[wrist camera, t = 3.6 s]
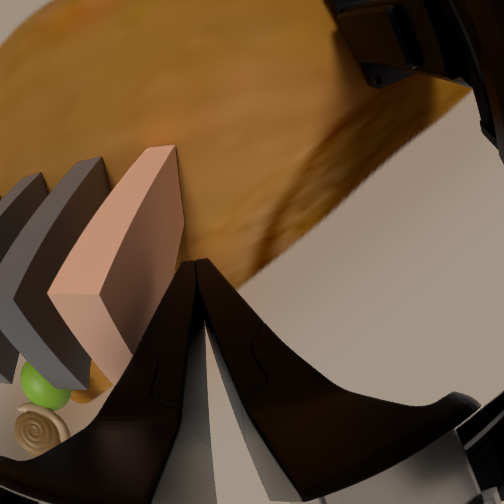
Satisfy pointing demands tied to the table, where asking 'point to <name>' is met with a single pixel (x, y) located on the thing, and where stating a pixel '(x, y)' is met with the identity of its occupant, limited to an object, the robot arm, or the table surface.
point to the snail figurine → (40, 413)
